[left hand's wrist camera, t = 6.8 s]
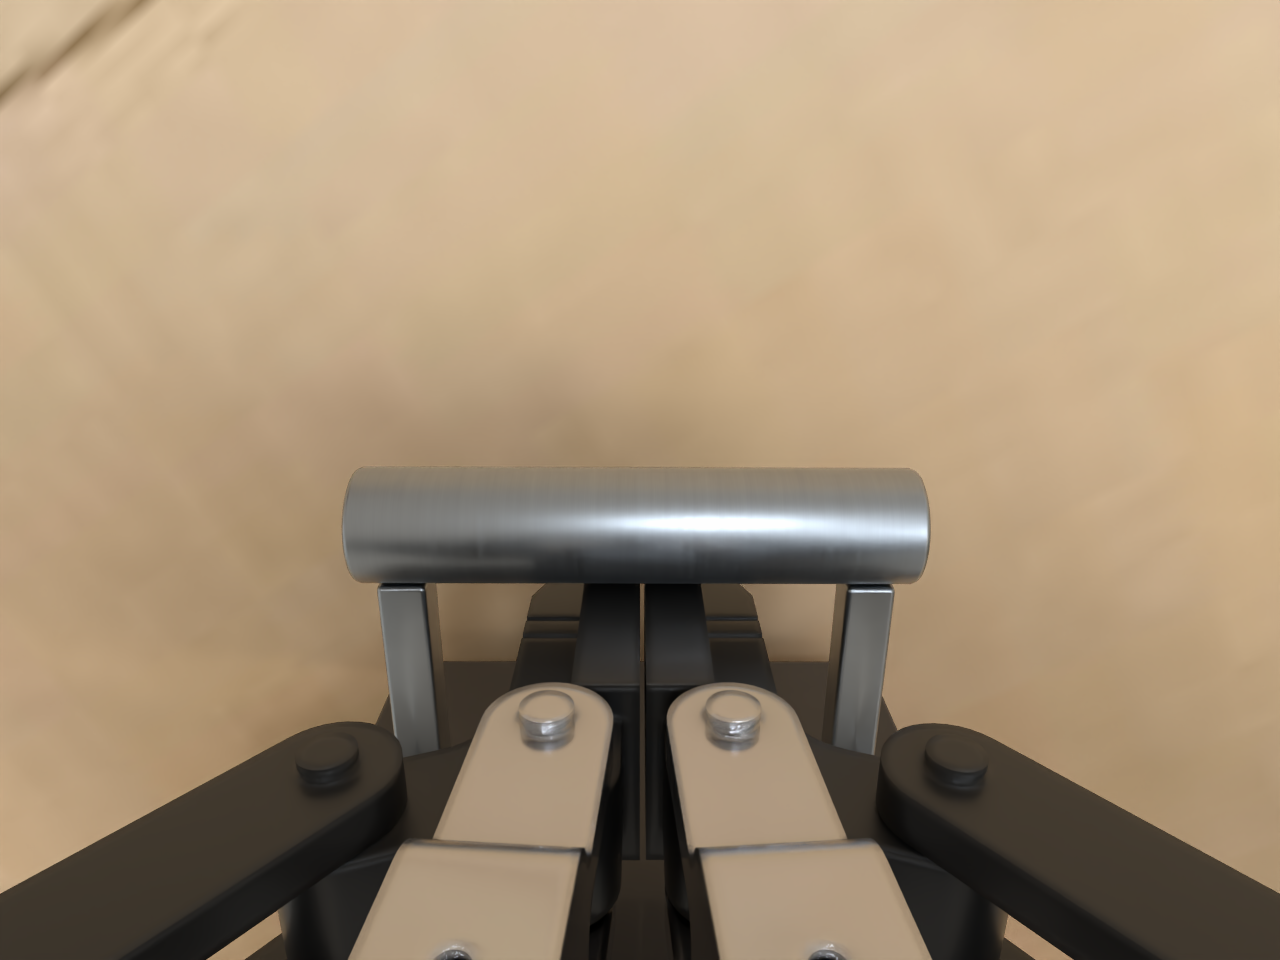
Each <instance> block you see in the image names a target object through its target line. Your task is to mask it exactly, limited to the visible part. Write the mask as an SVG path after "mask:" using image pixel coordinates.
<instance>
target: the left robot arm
mask: <svg viewBox="0 0 1280 960" xmlns="http://www.w3.org/2000/svg"><path fill="white" fill-rule="evenodd" d="M644 706H645V827H646V860H664V879H665V898H664V925H665V933H666V942H667V950H668V958H669V960H1035V959H1034V958H1032V957H1031V956H1029V955H1028V954H1027V953H1025V952H1024V951H1022V950H1021V949H1020V948H1018V947H1017V946H1015V945H1014V944H1013V943H1011V942H1010V941H1008V940H1007V939H1006V938H1004V933H1005V928H1006V923H1007V918H1008V914H1009V915H1010V916H1012V917H1013V918H1015V919H1016V920H1017V921H1019V922H1020V923H1022V924H1023V925H1025V926H1026V927H1027V928H1029V929H1030V930H1032V931H1033V932H1035V933H1036V934H1038V935H1039V936H1040V937H1042V938H1043V939H1045V940H1046V941H1048V942H1049V943H1051V944H1052V945H1053V946H1055V947H1056V948H1058V949H1059V950H1061V951H1062V952H1064V953H1065V954H1066V955H1068V956H1069V957H1071V958H1072V959H1074V960H1280V894H1279V893H1277V892H1275V891H1274V890H1272V889H1270V888H1268V887H1266V886H1264V885H1263V884H1261V883H1259V882H1257V881H1255V880H1253V879H1251V878H1250V877H1248V876H1246V875H1244V874H1242V873H1240V872H1239V871H1237V870H1235V869H1233V868H1231V867H1229V866H1227V865H1226V864H1224V863H1222V862H1220V861H1218V860H1216V859H1214V858H1213V857H1211V856H1209V855H1207V854H1205V853H1203V852H1202V851H1200V850H1198V849H1196V848H1194V847H1192V846H1190V845H1189V844H1187V843H1185V842H1183V841H1181V840H1179V839H1177V838H1176V837H1174V836H1172V835H1170V834H1168V833H1166V832H1165V831H1163V830H1161V829H1159V828H1157V827H1155V826H1153V825H1152V824H1150V823H1148V822H1146V821H1144V820H1142V819H1140V818H1139V817H1137V816H1135V815H1133V814H1131V813H1129V812H1128V811H1126V810H1124V809H1122V808H1120V807H1118V806H1116V805H1115V804H1113V803H1111V802H1109V801H1107V800H1105V799H1104V798H1102V797H1100V796H1098V795H1096V794H1094V793H1092V792H1091V791H1089V790H1087V789H1085V788H1083V787H1081V786H1079V785H1078V784H1076V783H1074V782H1072V781H1070V780H1068V779H1067V778H1065V777H1063V776H1061V775H1059V774H1057V773H1055V772H1054V771H1052V770H1050V769H1048V768H1046V767H1044V766H1042V765H1041V764H1039V763H1037V762H1035V761H1033V760H1031V759H1030V758H1028V757H1026V756H1024V755H1022V754H1020V753H1018V752H1017V751H1015V750H1013V749H1011V748H1009V747H1007V746H1005V745H1004V744H1002V743H1000V742H998V741H996V740H994V739H992V738H990V737H988V736H986V735H984V734H982V733H979V732H976V731H973V730H971V729H967V728H963V727H959V726H954V725H948V724H936V723H931V724H918V725H912V726H909V727H905V728H902V729H900V730H898V731H896V732H895V733H893V734H892V735H891V736H889V737H888V739H887V740H886V741H885V742H884V744H883V747H882V749H881V756H875V755H871V754H866V753H861V752H857V751H852V750H847V749H843V748H840V747H836V746H833V745H830V744H827V743H824V742H822V741H820V740H818V739H816V738H813V737H811V736H810V735H808V734H807V733H805V732H804V730H803V728H802V725H801V723H800V721H799V718H798V716H797V714H796V712H795V711H794V709H793V708H792V707H791V706H790V705H789V704H788V703H787V702H786V701H785V700H784V699H782V698H781V697H779V696H778V694H777V690H776V687H775V683H774V679H773V675H772V671H771V667H770V663H769V659H768V655H767V651H766V647H765V643H764V640H763V638H762V632H761V628H760V624H759V621H758V616H757V612H756V608H755V604H754V600H753V597H752V595H751V594H750V593H748V592H747V591H746V590H745V589H744V588H743V587H742V586H741V585H740V584H666V583H644ZM622 860H640V583H546V584H545V585H544V586H543V587H542V588H541V589H540V590H538V591H537V592H536V593H535V594H534V595H533V596H532V599H531V603H530V607H529V611H528V616H527V621H526V624H525V628H524V632H523V638H522V640H521V644H520V648H519V652H518V656H517V660H516V665H515V669H514V673H513V677H512V681H511V685H510V689H509V692H508V693H506V694H504V695H502V696H501V697H499V698H498V699H496V700H495V701H494V702H493V703H492V704H491V705H490V706H489V707H488V708H487V709H486V711H485V712H484V714H483V716H482V718H481V721H480V723H479V725H478V728H477V730H476V733H475V735H474V737H473V738H471V739H469V740H467V741H465V742H463V743H460V744H457V745H454V746H451V747H448V748H444V749H440V750H436V751H431V752H426V753H422V754H417V755H413V756H408V757H403V753H402V747H401V744H400V742H399V740H398V739H397V738H396V736H395V735H394V734H392V733H391V732H390V731H388V730H386V729H384V728H382V727H380V726H377V725H374V724H370V723H364V722H337V723H331V724H325V725H321V726H317V727H314V728H310V729H308V730H305V731H302V732H300V733H298V734H296V735H294V736H291V737H289V738H287V739H286V740H284V741H282V742H280V743H278V744H276V745H275V746H273V747H271V748H269V749H267V750H265V751H263V752H262V753H260V754H258V755H256V756H254V757H252V758H250V759H249V760H247V761H245V762H243V763H241V764H239V765H238V766H236V767H234V768H232V769H230V770H228V771H226V772H225V773H223V774H221V775H219V776H217V777H215V778H214V779H212V780H210V781H208V782H206V783H204V784H202V785H201V786H199V787H197V788H195V789H193V790H191V791H189V792H188V793H186V794H184V795H182V796H180V797H178V798H177V799H175V800H173V801H171V802H169V803H167V804H165V805H164V806H162V807H160V808H158V809H156V810H154V811H152V812H151V813H149V814H147V815H145V816H143V817H141V818H140V819H138V820H136V821H134V822H132V823H130V824H128V825H127V826H125V827H123V828H121V829H119V830H117V831H115V832H114V833H112V834H110V835H108V836H106V837H104V838H103V839H101V840H99V841H97V842H95V843H93V844H91V845H90V846H88V847H86V848H84V849H82V850H80V851H79V852H77V853H75V854H73V855H71V856H69V857H67V858H66V859H64V860H62V861H60V862H58V863H56V864H54V865H53V866H51V867H49V868H47V869H45V870H43V871H42V872H40V873H38V874H36V875H34V876H32V877H30V878H29V879H27V880H25V881H23V882H21V883H19V884H17V885H16V886H14V887H12V888H10V889H8V890H6V891H5V892H3V893H1V894H0V960H206V959H208V958H209V957H211V956H212V955H214V954H215V953H216V952H218V951H219V950H221V949H222V948H224V947H225V946H227V945H228V944H229V943H231V942H232V941H234V940H235V939H237V938H238V937H240V936H241V935H242V934H244V933H245V932H247V931H248V930H250V929H251V928H253V927H254V926H255V925H257V924H258V923H260V922H261V921H263V920H264V919H266V918H267V917H268V916H270V915H271V914H273V913H274V912H276V911H277V910H278V914H279V920H280V925H281V930H282V933H281V934H280V935H279V936H277V937H276V938H274V939H273V940H272V941H270V942H269V943H267V944H266V945H265V946H263V947H262V948H260V949H259V950H258V951H256V952H255V953H253V954H252V955H251V956H249V957H248V958H246V959H245V960H611V958H612V950H613V942H614V933H615V925H616V901H617V899H618V896H619V893H620V890H621V881H622Z"/></svg>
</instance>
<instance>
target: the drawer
mask: <svg viewBox="0 0 1280 960" xmlns="http://www.w3.org/2000/svg"><path fill="white" fill-rule="evenodd" d="M930 536H931V520H930V509H929V502H928V497H927V493H926V489H925V486H924V483H923V481H922V479H921V477H920V475H919V474H918V473H917V472H916V471H914V470H912V469H910V468H664V467H362V468H359V469H357V470H356V471H355V472H354V474H353V475H352V477H351V479H350V481H349V484H348V487H347V490H346V494H345V498H344V504H343V512H342V543H343V551H344V556H345V561H346V564H347V568H348V570H349V572H350V574H351V576H352V577H353V579H355V580H356V581H358V582H361V583H380V584H379V586H378V589H377V594H378V602H379V611H380V619H381V627H382V636H383V644H384V653H385V661H386V670H387V678H388V687H389V696H388V698H387V700H386V702H385V704H384V707H383V709H382V711H381V713H380V716H379V718H378V720H377V722H376V725H377V726H380V727H382V728H384V729H386V730H388V731H390V732H391V733H392V734H394V735H395V736H396V738H397V739H398V740H399V742H400V744H401V747H402V753H403V757H408V756H413V755H417V754H422V753H426V752H431V751H436V750H440V749H444V748H448V747H451V746H454V745H457V744H460V743H463V742H465V741H467V740H469V739H471V738H473V737H474V735H475V733H476V730H477V728H478V725H479V723H480V721H481V718H482V716H483V714H484V712H485V711H486V709H487V708H488V707H489V706H490V705H491V704H492V703H493V702H494V701H495V700H496V699H498V698H499V697H501V696H502V695H504V694H506V693H508V692H509V689H510V685H511V681H512V677H513V673H514V669H515V665H516V661H443V654H442V643H441V632H440V621H439V610H438V599H437V588H436V583H666V584H836V594H835V604H834V615H833V625H832V635H831V646H830V656H829V662H769V663H770V667H771V671H772V675H773V679H774V683H775V687H776V690H777V694H778V696H779V697H781V698H782V699H784V700H785V701H786V702H787V703H788V704H789V705H790V706H791V707H792V708H793V709H794V711H795V712H796V714H797V716H798V718H799V721H800V723H801V725H802V728H803V730H804V732H805V733H807V734H808V735H810V736H811V737H813V738H816V739H818V740H820V741H822V742H824V743H827V744H830V745H833V746H836V747H840V748H843V749H847V750H852V751H857V752H861V753H866V754H871V755H875V756H881V749H882V747H883V744H884V742H885V741H886V740H887V739H888V737H889V736H891V735H892V734H893V733H895V732H896V731H897V728H896V726H895V724H894V722H893V719H892V717H891V715H890V713H889V710H888V708H887V706H886V704H885V701H884V699H883V697H882V690H883V682H884V674H885V666H886V658H887V650H888V642H889V634H890V626H891V618H892V610H893V602H894V594H895V590H894V588H893V586H892V584H912V583H914V582H916V581H918V580H919V579H920V577H921V576H922V574H923V572H924V569H925V566H926V563H927V559H928V554H929V548H930ZM664 898H665V879H664V860H646V827H645V706H644V662H640V860H622V881H621V890H620V893H619V896H618V899H617V901H616V925H615V933H614V942H613V950H612V958H611V960H669V958H668V950H667V942H666V933H665V925H664Z"/></svg>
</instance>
